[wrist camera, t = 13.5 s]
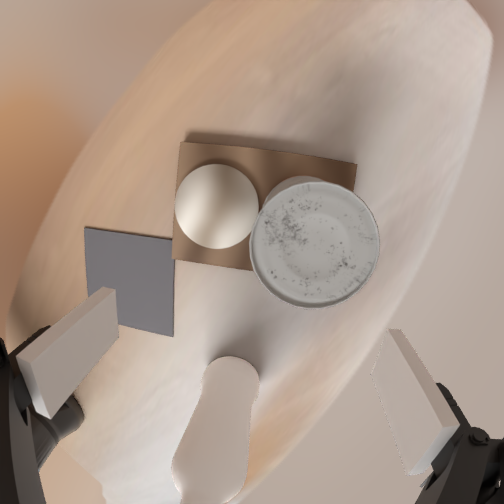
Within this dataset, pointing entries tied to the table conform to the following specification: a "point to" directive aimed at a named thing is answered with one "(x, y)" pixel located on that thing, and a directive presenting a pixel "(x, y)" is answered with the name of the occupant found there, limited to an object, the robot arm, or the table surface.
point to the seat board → (234, 197)
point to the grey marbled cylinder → (313, 243)
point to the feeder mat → (133, 277)
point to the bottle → (217, 434)
